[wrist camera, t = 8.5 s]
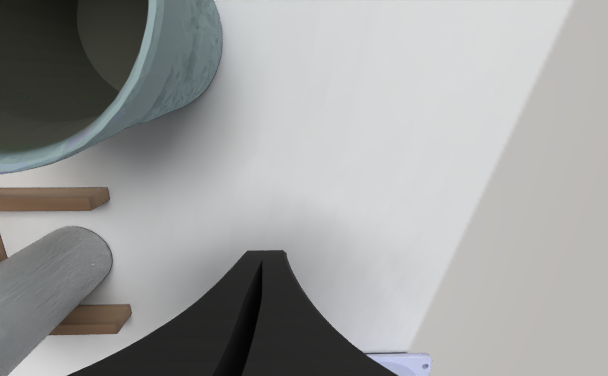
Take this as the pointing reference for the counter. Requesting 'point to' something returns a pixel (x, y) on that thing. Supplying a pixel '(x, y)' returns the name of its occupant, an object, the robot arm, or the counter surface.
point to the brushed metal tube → (46, 288)
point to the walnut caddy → (68, 199)
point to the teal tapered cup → (96, 70)
